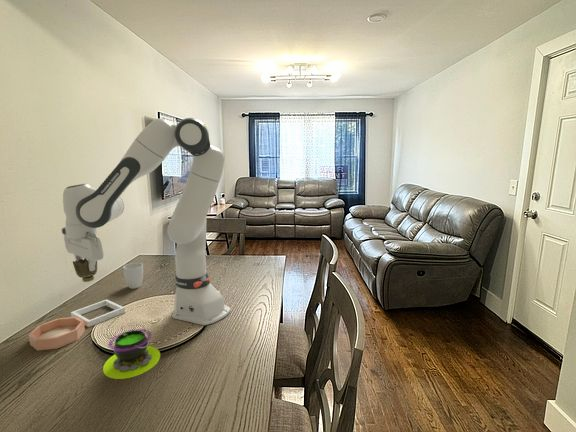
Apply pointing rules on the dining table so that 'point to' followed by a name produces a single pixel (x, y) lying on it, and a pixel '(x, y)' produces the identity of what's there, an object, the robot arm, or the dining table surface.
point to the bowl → (56, 333)
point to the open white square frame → (89, 323)
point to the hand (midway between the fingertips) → (86, 268)
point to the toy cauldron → (131, 355)
